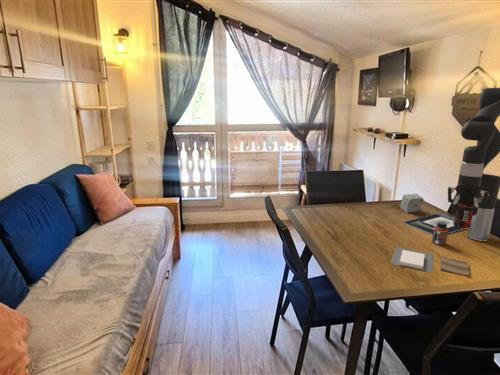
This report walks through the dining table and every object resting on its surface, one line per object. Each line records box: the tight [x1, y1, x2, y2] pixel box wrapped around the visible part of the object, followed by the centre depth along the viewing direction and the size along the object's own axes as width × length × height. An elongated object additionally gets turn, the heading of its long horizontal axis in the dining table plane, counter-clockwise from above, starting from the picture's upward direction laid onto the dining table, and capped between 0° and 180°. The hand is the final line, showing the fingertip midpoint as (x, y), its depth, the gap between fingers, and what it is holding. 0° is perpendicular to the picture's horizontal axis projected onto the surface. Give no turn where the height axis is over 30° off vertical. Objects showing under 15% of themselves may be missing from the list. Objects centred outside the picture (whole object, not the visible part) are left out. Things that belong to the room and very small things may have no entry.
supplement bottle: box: [431, 221, 449, 247], centre depth 161 cm, size 6×6×11 cm
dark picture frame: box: [402, 212, 466, 236], centre depth 185 cm, size 22×30×2 cm
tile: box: [399, 250, 425, 269], centre depth 145 cm, size 2×9×12 cm
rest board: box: [440, 256, 470, 278], centre depth 140 cm, size 12×10×1 cm
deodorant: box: [453, 190, 477, 228], centre depth 133 cm, size 6×6×15 cm
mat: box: [390, 247, 434, 274], centre depth 147 cm, size 18×16×1 cm
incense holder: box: [400, 193, 424, 214], centre depth 206 cm, size 10×8×10 cm
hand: (463, 213), depth 133 cm, fingers closed on deodorant, 6 cm apart
